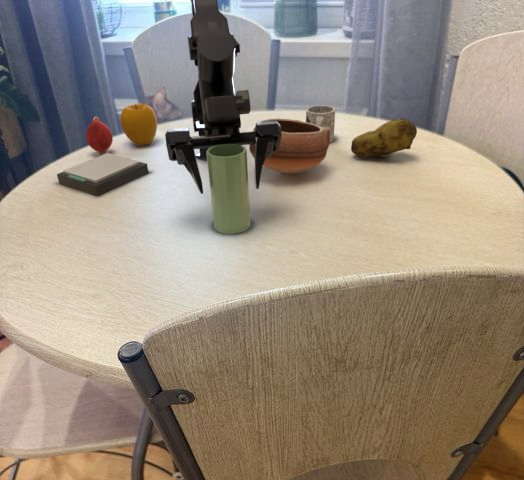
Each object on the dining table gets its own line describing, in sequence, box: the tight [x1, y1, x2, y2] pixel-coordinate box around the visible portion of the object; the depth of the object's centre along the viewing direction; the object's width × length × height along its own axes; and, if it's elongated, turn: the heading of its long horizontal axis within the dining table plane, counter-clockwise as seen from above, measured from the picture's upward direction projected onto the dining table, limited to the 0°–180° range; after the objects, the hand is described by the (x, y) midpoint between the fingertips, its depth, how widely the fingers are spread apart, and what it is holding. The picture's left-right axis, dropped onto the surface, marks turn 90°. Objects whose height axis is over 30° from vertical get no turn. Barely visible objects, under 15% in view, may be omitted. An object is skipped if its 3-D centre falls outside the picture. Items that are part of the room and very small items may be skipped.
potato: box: [350, 118, 418, 158], centre depth 113 cm, size 8×13×8 cm, turn 63°
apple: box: [119, 103, 158, 147], centre depth 125 cm, size 8×8×9 cm
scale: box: [56, 152, 150, 197], centre depth 111 cm, size 14×12×3 cm
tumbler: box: [206, 144, 251, 235], centre depth 88 cm, size 6×6×13 cm
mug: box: [305, 104, 336, 143], centre depth 122 cm, size 10×7×7 cm, turn 172°
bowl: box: [248, 118, 331, 174], centre depth 108 cm, size 16×16×10 cm
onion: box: [85, 116, 114, 155], centre depth 121 cm, size 6×6×8 cm
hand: (230, 190), depth 87 cm, fingers open, 9 cm apart
